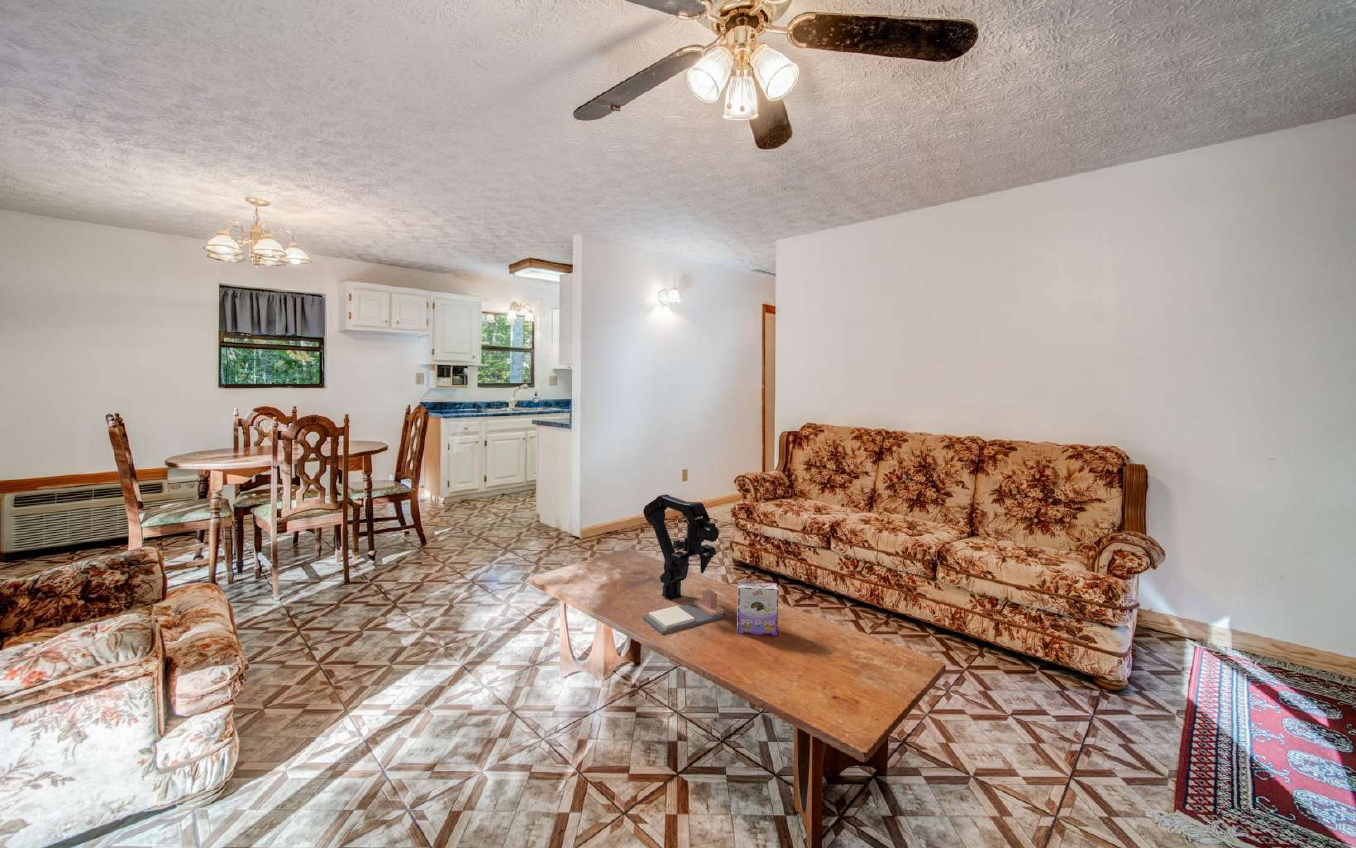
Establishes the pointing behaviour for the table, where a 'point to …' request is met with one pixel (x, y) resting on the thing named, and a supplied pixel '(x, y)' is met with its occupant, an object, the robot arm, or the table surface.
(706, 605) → the stub
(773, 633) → the candy box
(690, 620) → the spiral notepad
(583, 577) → the table surface
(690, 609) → the mat
